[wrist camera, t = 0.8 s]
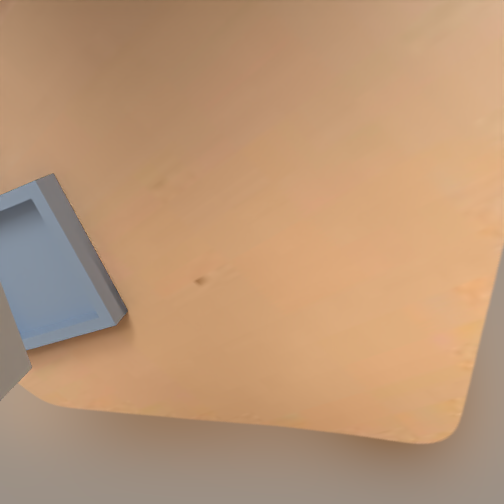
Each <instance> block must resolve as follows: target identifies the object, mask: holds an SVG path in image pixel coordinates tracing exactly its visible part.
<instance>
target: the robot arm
mask: <svg viewBox="0 0 504 504" xmlns="http://www.w3.org/2000/svg"><path fill="white" fill-rule="evenodd" d="M31 368H32V366H31V363H30V360H29V358H28V355H27V352H26V349H25V347H24V344H23V341H22V339H21V336H20V333H19V330H18V328H17V325H16V322H15V320H14V317H13V314H12V312H11V309H10V306H9V303H8V301H7V298H6V295H5V293H4V290H3V287H2V284H1V282H0V401H1V399H3V398H4V396H5V395H6V394H7V393H8V392H9V391H10V390H11V389H12V388H13V387H14V386H15V385H16V384H17V383H18V382H19V381H20V380H21V379H22V378H23V377H24V376H25V375H26V374H27V373H28V372H29V370H30V369H31Z"/></svg>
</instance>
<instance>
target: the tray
mask: <svg viewBox="0 0 504 504" xmlns="http://www.w3.org/2000/svg"><path fill="white" fill-rule="evenodd" d="M0 282H1V284H2V287H3V290H4V293H5V295H6V298H7V301H8V303H9V306H10V309H11V312H12V314H13V317H14V320H15V322H16V325H17V328H18V330H19V333H20V336H21V339H22V341H23V344H24V347H25V349H26V350H29V349H33V348H37V347H40V346H44V345H47V344H51V343H54V342H58V341H62V340H65V339H69V338H72V337H76V336H80V335H83V334H87V333H90V332H94V331H98V330H101V329H105V328H108V327H112V326H115V325H117V324H118V322H119V321H120V320H121V319H122V318H123V316H124V315H125V314H126V313H127V311H128V310H127V308H126V306H125V305H124V303H123V301H122V299H121V297H120V295H119V293H118V292H117V290H116V288H115V286H114V284H113V282H112V281H111V279H110V277H109V275H108V273H107V271H106V269H105V268H104V266H103V264H102V262H101V260H100V258H99V257H98V255H97V253H96V251H95V249H94V247H93V245H92V244H91V242H90V240H89V238H88V236H87V234H86V233H85V231H84V229H83V227H82V225H81V223H80V222H79V220H78V218H77V216H76V214H75V212H74V210H73V209H72V207H71V205H70V203H69V201H68V199H67V198H66V196H65V194H64V192H63V190H62V188H61V186H60V185H59V183H58V181H57V179H56V177H55V175H54V174H50V175H48V176H45V177H43V178H40V179H38V180H35V181H33V182H30V183H28V184H26V185H23V186H21V187H18V188H16V189H14V190H11V191H9V192H7V193H4V194H2V195H0Z"/></svg>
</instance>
